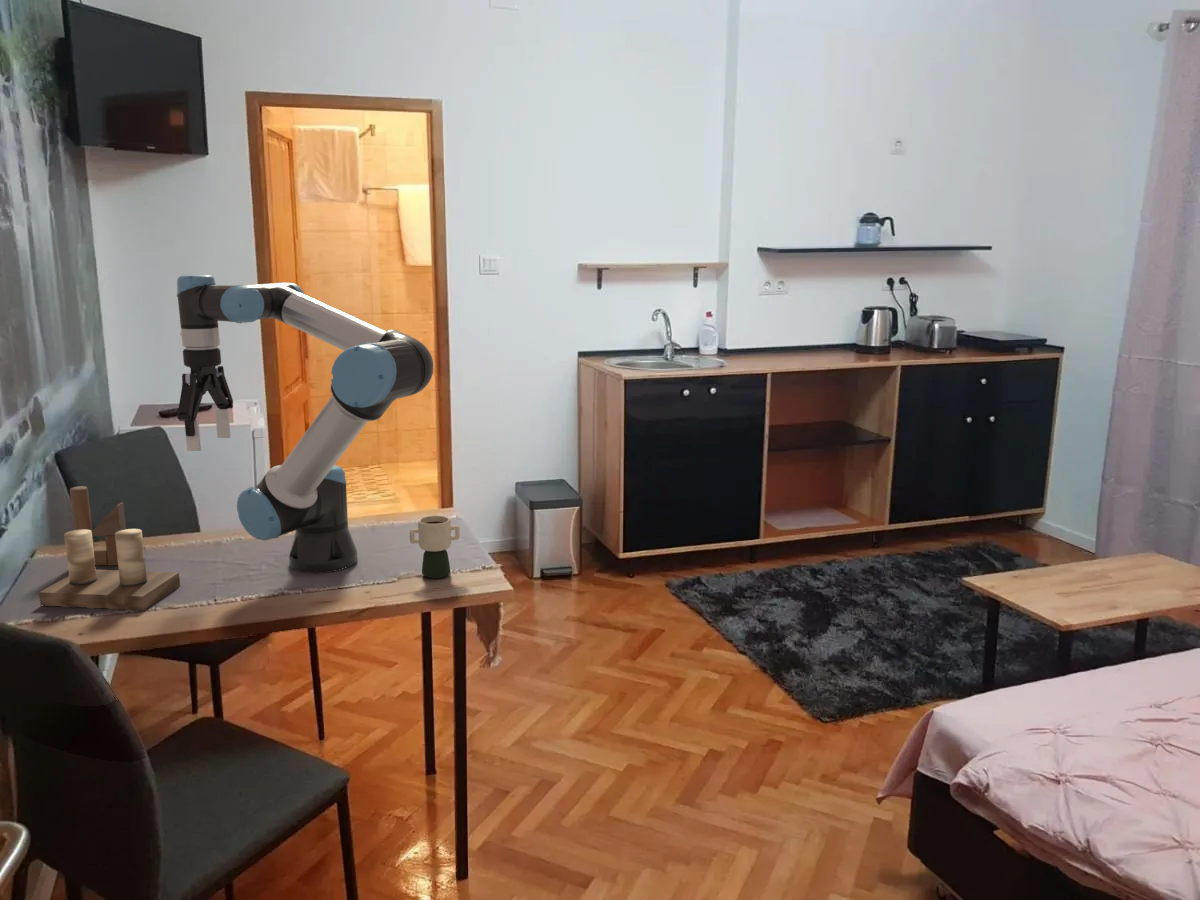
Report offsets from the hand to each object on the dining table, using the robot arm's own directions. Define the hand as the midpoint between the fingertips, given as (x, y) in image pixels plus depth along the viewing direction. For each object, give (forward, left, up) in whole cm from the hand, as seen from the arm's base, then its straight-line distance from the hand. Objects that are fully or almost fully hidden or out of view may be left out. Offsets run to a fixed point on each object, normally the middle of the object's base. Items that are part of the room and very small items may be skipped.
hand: (209, 444), depth 212 cm
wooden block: (+28, 0, -29) cm, 40 cm away
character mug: (-50, 0, -29) cm, 58 cm away
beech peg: (+9, +19, -28) cm, 35 cm away
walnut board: (+14, +19, -29) cm, 37 cm away
